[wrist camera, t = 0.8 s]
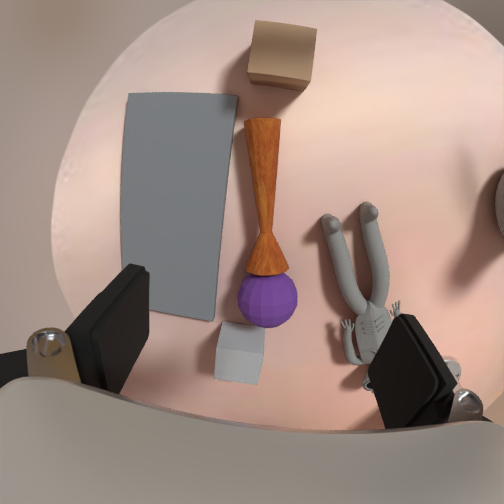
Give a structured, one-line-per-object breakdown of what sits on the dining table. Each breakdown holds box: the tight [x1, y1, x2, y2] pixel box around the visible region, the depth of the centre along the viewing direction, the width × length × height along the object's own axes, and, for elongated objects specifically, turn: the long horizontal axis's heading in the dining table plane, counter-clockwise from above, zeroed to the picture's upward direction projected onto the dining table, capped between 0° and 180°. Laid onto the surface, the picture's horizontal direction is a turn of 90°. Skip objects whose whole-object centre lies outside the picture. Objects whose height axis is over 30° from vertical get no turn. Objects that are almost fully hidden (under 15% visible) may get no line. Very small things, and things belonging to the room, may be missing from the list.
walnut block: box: [247, 20, 317, 91], centre depth 21 cm, size 5×5×5 cm
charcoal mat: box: [121, 92, 238, 321], centre depth 28 cm, size 24×11×1 cm, turn 173°
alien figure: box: [321, 202, 401, 393], centre depth 30 cm, size 8×5×25 cm
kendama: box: [238, 118, 297, 328], centre depth 27 cm, size 6×6×20 cm
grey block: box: [214, 321, 265, 385], centre depth 32 cm, size 5×5×5 cm
